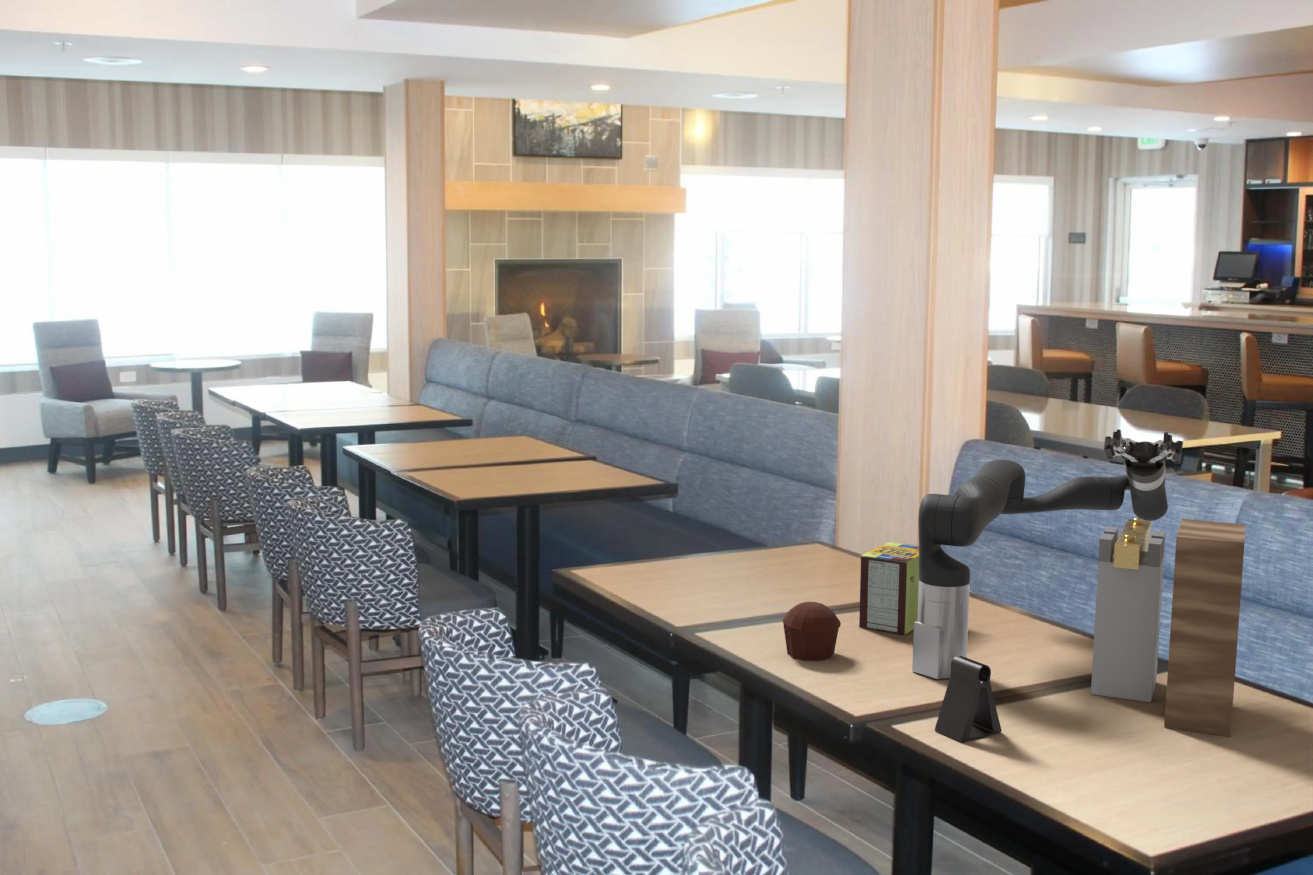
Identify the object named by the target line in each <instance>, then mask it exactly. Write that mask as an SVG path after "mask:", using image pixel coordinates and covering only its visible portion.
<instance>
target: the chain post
mask: <svg viewBox="0 0 1313 875" xmlns="http://www.w3.org/2000/svg"><path fill="white" fill-rule="evenodd" d="M1118 538H1119V527H1118V526H1111V525H1110V526H1109V525H1106V526H1105V529H1104V530H1103V532H1102V534H1101V536H1100V537H1099V539H1098V540H1099V543H1098V544H1099V545H1098V561H1097V562H1098V563H1097V574H1096V575H1097V577H1096V578H1097V580H1096V593H1095V594H1096V596H1095V597H1096V599H1095V611H1094V612H1095V614H1094V628H1093V629H1094V630H1093V650H1092V651H1093V652H1092V667H1091V668H1092V669H1091V685H1090V694H1091V695H1094V696H1095V695H1097V696H1103V697H1110V698H1116V699H1122V700H1123V699H1125V700H1131V701H1138V702H1139V701H1140V702H1146V703H1147V702H1148V703H1152V700H1153V697H1154V692H1155V689H1156V685H1157V676H1158V675H1157V674H1158V660H1159V642H1160V629H1161V627H1160V626H1161V612H1162V611H1161V610H1162V596H1163V584H1164V583H1163V581H1164V580H1163V579H1164V566H1165V565H1164V563H1165V548H1166V547H1165V546H1166V531H1165V530H1156V529H1155V530H1154V529H1153V531H1152V533H1151V538H1150V541H1149V544H1148V549H1147V551H1146V553H1145V555H1144V558H1143V560H1142V562H1141V565H1140V567H1139V569H1138V570H1136V569H1126V568H1117V567H1114V550H1115V543H1116V541H1117V539H1118Z"/></svg>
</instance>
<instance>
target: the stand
mask: <svg viewBox="0 0 1313 875" xmlns="http://www.w3.org/2000/svg"><path fill="white" fill-rule="evenodd" d="M1245 539H1246V524H1245V523H1237V522H1235V523H1234V522H1225V521H1213V520H1202V519H1189V518H1181V521H1180V524H1179V527H1178V531H1177V534H1176V538H1175V553H1174V554H1175V556H1174V568H1173V569H1174V570H1173V571H1174V572H1173V583H1172V584H1173V585H1172V586H1173V587H1172V602H1171V618H1170V630H1169V631H1170V632H1169V647H1168V664H1167V665H1168V666H1167V679H1166V680H1167V681H1166V694H1165V696H1166V697H1165V708H1164V728H1167V729H1172V730H1173V729H1174V730H1180V731H1186V732H1194V733H1200V734H1207V735H1215V736H1222V737H1228V738H1230V737H1232V721H1233V710H1234V709H1233V707H1234V696H1235V695H1234V694H1235V682H1236V680H1235V679H1236V666H1237V651H1238V636H1239V626H1240V625H1239V622H1240V611H1241V609H1240V608H1241V600H1242V598H1241V597H1242V596H1241V595H1242V583H1243V571H1244V570H1243V569H1244V556H1245V554H1244V553H1245V541H1246V540H1245Z"/></svg>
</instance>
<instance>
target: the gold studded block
mask: <svg viewBox="0 0 1313 875" xmlns="http://www.w3.org/2000/svg"><path fill="white" fill-rule="evenodd" d="M1152 522H1153V521H1146V520H1143V519H1142V518H1138V517H1134V518H1133V519H1131V518H1128V520H1127V521H1126V524H1125V525H1124V527H1123V529H1122V531H1121V532H1120V534H1119V535H1118V539H1117V541H1116V543H1115V550H1114V567H1117V568H1126V569H1136V570H1138V569H1139V567H1140V565H1141V562H1142V560H1143V558H1144V555H1145V553H1146V552H1148V544H1149V541H1150V538H1152Z"/></svg>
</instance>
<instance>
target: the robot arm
mask: <svg viewBox="0 0 1313 875" xmlns="http://www.w3.org/2000/svg"><path fill="white" fill-rule="evenodd" d="M1183 446H1184V441H1183V440H1176V441H1174V440H1173V435H1172V434H1169V431H1168V432H1167V431H1163V439H1159V440H1157V441H1155V442H1151V441H1146V440H1145V441H1135V440H1133V439H1131V438H1129V437H1125V438H1124V437H1122V430H1121V429H1119V428H1118V429H1116V431H1113V432H1112V437H1111V436H1105V438H1104V444H1103V450H1104V453H1105V455H1106V456H1105V457H1106V459H1109V460H1113V459H1114V457H1116V456H1117V457H1121V458H1122V459H1123V461H1124V466H1125V468H1124V471H1125V475H1119V476H1113V477H1111V476H1110V477H1107V476H1080V477H1075V478H1072V479H1069V480H1067V481H1066V482H1064V483H1062V484H1060V485H1059V486H1057V487H1054V488H1053V489H1051V490H1049V491H1047V492H1045V493H1042V494H1038V495H1036V496H1029V497H1024V496H1025V486H1026V472H1025V469H1024V467H1023V466H1022V465H1021V464H1019V462H1016V461H1014V460H1010V459H1009V460H1008V459H996V460H990V461H988V462H986V463H984V464H983V465H982V466H981V467H980V469H979V470H978V472H977V473H976V474H975V475H974V476H973V477H971V478H969V479H967V480H966V481H964V482H963V483H961V484H960V485H959V486H958V487H957V489H956V490H955V492H954V494H943V493H941V494H940V493H928V494H926V495H924V496H923V498H922V499H921V501H920V504H919V508H918V509H919V510H918V517H917V518H918V522H917V523H918V524H917V526H918V546H919V589H918V615H917V621H916V622H914V629H913V632H912V633H913V638H912V660H911V661H912V664H911V665H912V666H911V667H912V669H911V671H912V672H913V673H916V674H920V675H924V676H926V677H929V678H932V679H935V680H941V679H950V675H951V662H952V660H953V658H954V657H955V656H956V657H959V658H960V656H963V657H965V658H968V657H967V656H968V638H969V636H968V635H969V634H968V633H969V610H970V589H971V588H970V587H971V570H970V568H969V566H968V565H966V564H965V563H964V562H962V561H959V560H957V559H955V558H953V557H952V556H951V555H949V554H948V553H947V552H946V551H944V549H943V548H942V546H951V547H957V548H961V547H969V546H972V545H973V544H975V542H977V540H978V539H979V537H980V535H981V534H982V533H983V531H984V530H985V528H986V527H987V526H988V525H989V524H990V523H991V522H993V521H995V519H997V518H998V517H999V516H1000V515H1020V514H1021V515H1022V514H1023V515H1024V514H1033V513H1046V512H1048V513H1049V512H1056V511H1057V512H1058V511H1066V510H1067V511H1068V510H1070V511H1071V510H1090V511H1091V510H1092V511H1093V510H1094V511H1097V510H1098V511H1116V510H1119V509H1120V508H1121V507H1122V506H1123V503H1124V499H1125V491H1130V498H1131V507H1132V511H1133V513H1134V515H1135V516H1136V518H1142V519H1143V520H1144V521H1152V522H1154V521H1157V520H1159V519H1161V518H1163V517H1164V516H1165V515H1166V513H1167V511H1168V509H1169V504H1168V499H1167V490H1166V485H1165V484H1166V478H1165V477H1166V461H1167V460H1171V461H1172V462H1173V463H1174V464H1177V465H1179V464H1181V463H1182V457H1183V456H1182V455H1183Z"/></svg>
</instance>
